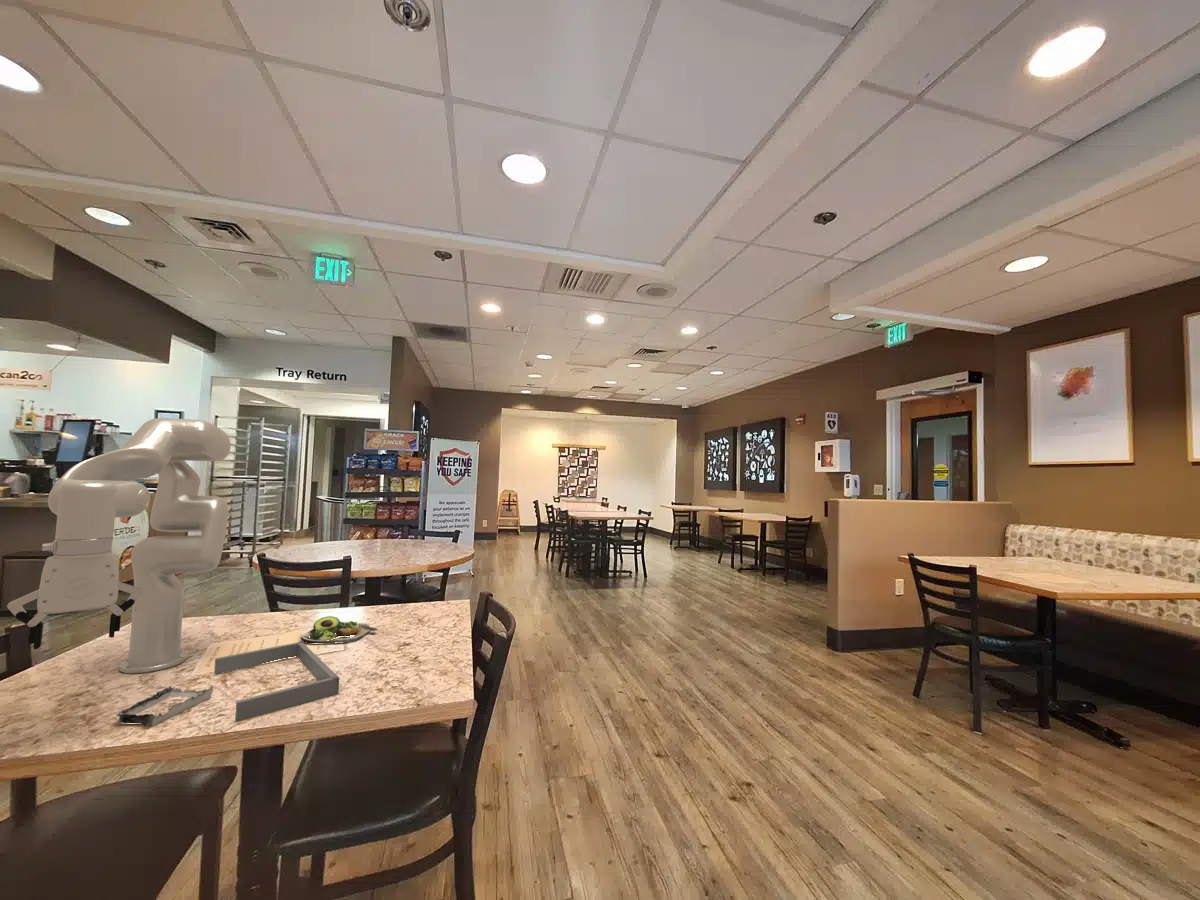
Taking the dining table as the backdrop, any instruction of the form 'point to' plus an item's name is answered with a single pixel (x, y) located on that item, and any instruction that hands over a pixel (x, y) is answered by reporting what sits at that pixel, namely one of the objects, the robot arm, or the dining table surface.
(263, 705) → the box
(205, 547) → the robot arm
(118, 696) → the dining table surface
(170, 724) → the dining table surface
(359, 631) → the salad plate
